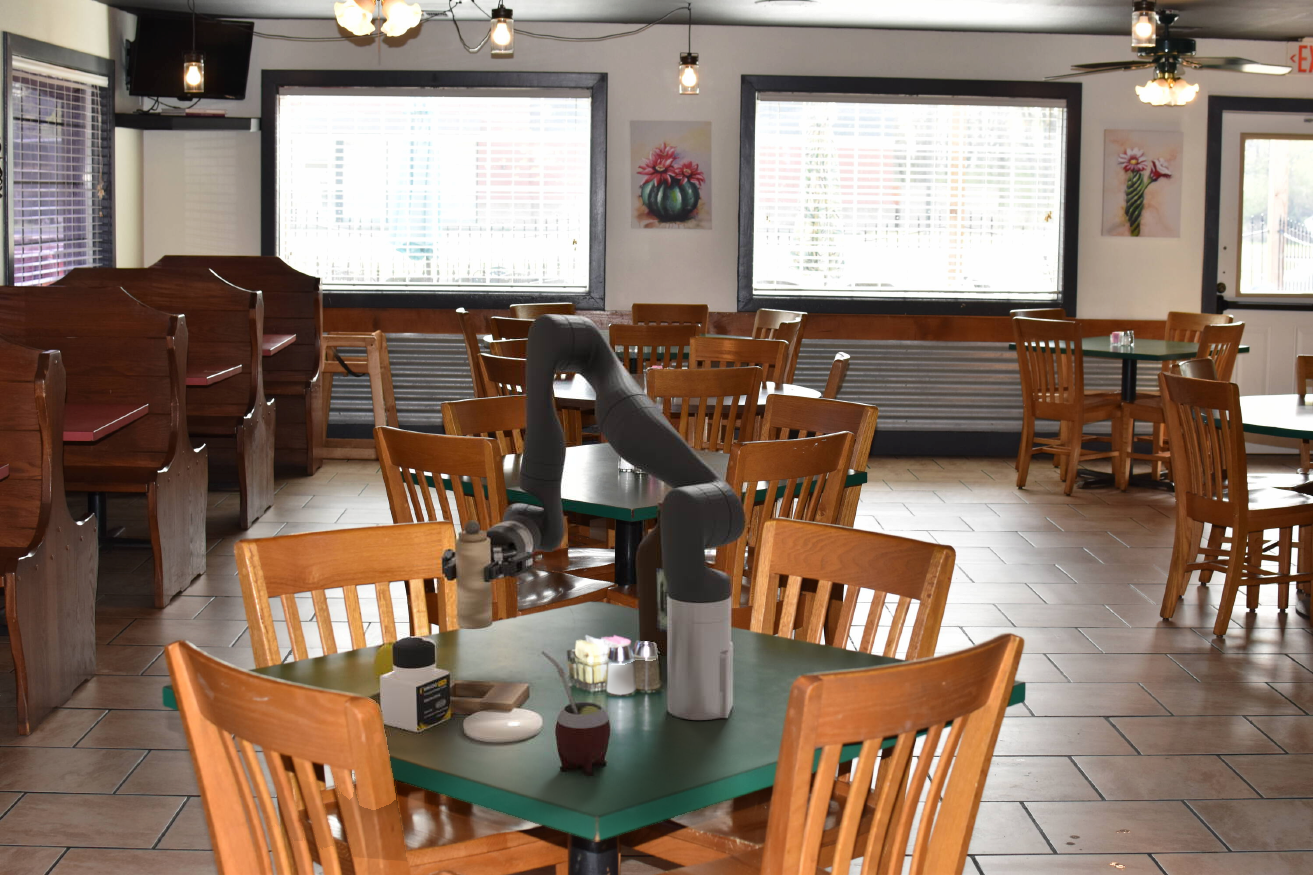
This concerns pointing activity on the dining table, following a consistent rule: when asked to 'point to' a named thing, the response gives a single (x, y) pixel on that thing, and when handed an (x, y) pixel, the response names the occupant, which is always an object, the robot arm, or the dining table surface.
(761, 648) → the dining table surface
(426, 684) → the medicine bottle
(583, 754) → the mate gourd
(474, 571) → the pepper mill
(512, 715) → the saucer
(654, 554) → the olive oil
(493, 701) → the frame
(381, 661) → the lemon
